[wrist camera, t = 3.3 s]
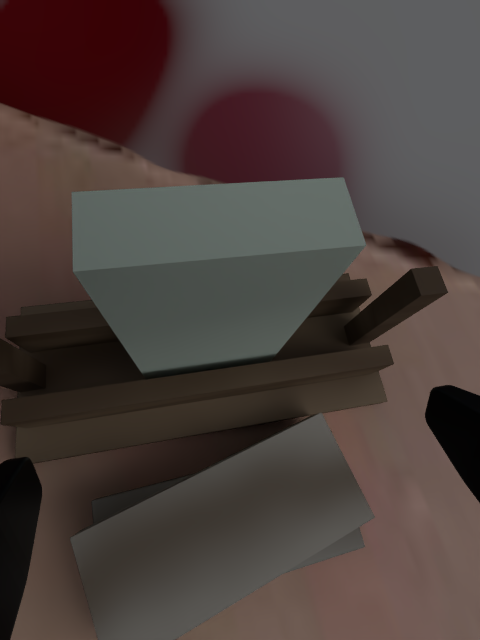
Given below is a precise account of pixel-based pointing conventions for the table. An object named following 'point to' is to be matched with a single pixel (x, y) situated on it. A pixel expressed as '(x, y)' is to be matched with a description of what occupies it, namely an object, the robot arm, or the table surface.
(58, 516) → the table surface
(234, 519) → the upper offcut
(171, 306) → the sage panel
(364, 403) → the walnut rack
